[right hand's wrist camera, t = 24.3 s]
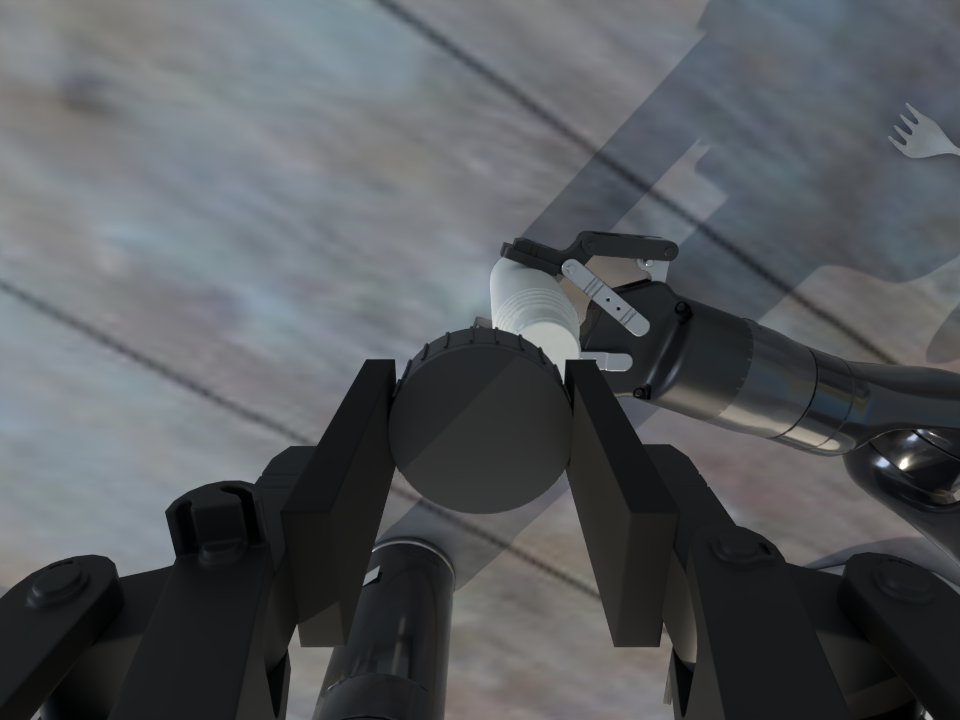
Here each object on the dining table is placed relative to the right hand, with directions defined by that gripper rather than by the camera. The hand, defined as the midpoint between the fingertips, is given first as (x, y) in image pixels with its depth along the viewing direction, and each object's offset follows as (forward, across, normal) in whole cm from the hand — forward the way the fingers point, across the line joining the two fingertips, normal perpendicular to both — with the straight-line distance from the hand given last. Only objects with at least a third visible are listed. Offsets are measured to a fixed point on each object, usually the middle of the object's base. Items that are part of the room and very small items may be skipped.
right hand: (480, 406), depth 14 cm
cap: (-1, 0, 0) cm, 1 cm away
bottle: (+28, +3, -3) cm, 28 cm away
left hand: (+21, +1, -2) cm, 21 cm away
